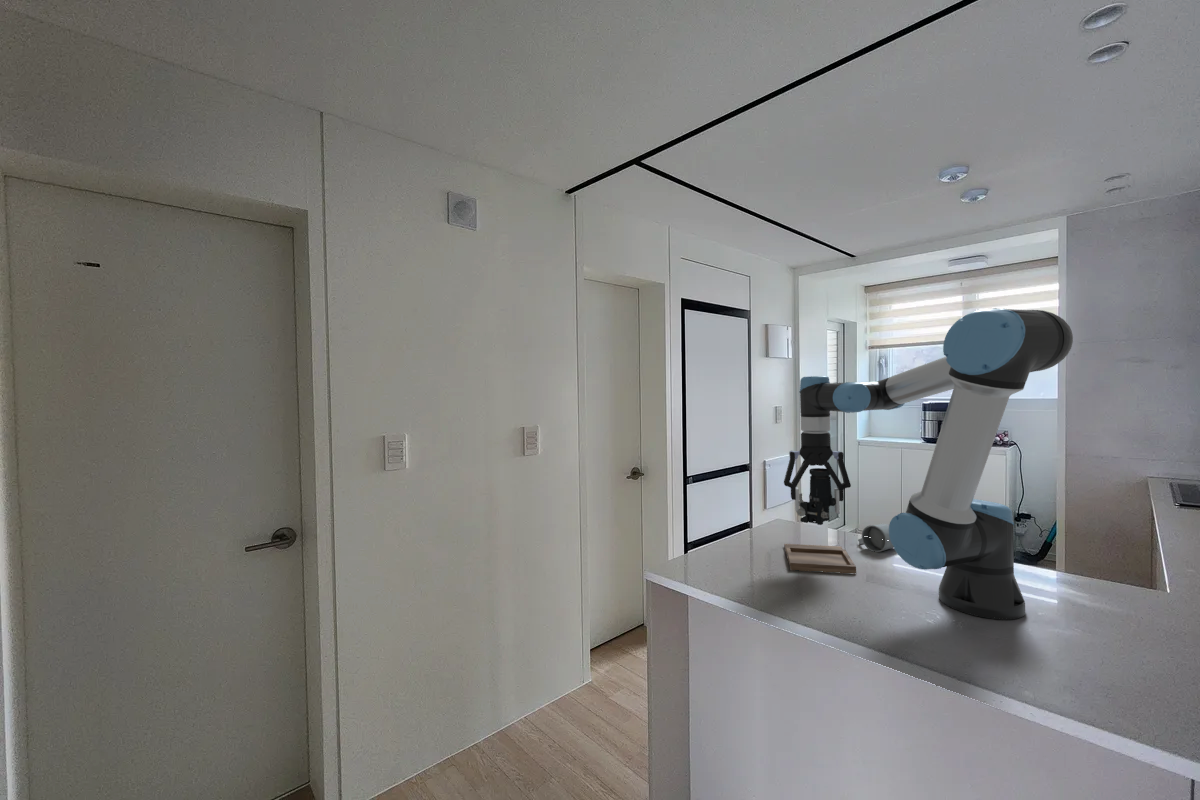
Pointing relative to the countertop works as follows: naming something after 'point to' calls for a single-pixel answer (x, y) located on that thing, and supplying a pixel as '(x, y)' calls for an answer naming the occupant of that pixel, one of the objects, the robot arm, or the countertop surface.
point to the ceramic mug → (876, 537)
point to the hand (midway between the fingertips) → (817, 511)
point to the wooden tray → (819, 558)
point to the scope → (817, 498)
